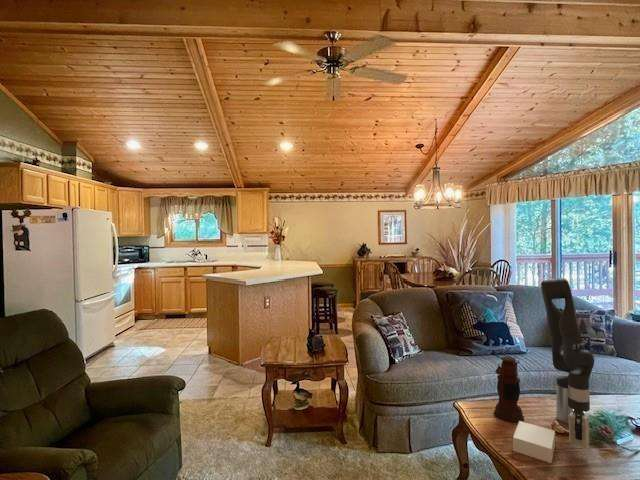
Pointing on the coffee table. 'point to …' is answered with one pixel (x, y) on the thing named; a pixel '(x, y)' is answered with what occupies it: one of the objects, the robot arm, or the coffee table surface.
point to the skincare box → (585, 434)
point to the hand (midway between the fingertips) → (578, 435)
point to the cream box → (534, 441)
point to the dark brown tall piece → (508, 392)
